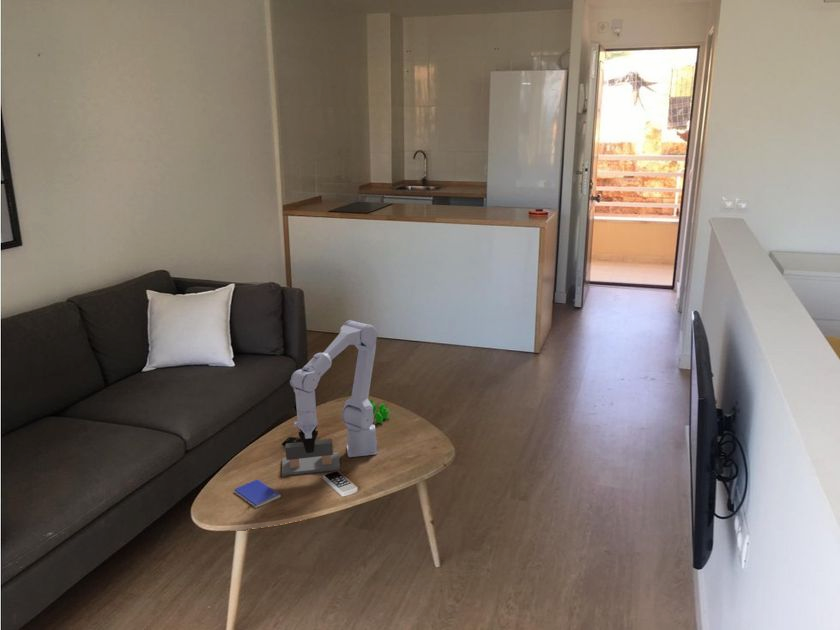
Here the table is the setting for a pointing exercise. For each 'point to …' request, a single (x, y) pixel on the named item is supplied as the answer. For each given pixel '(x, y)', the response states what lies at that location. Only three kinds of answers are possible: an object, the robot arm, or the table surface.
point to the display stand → (310, 464)
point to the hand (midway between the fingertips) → (309, 449)
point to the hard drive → (257, 493)
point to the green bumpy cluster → (380, 412)
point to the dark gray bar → (299, 450)
